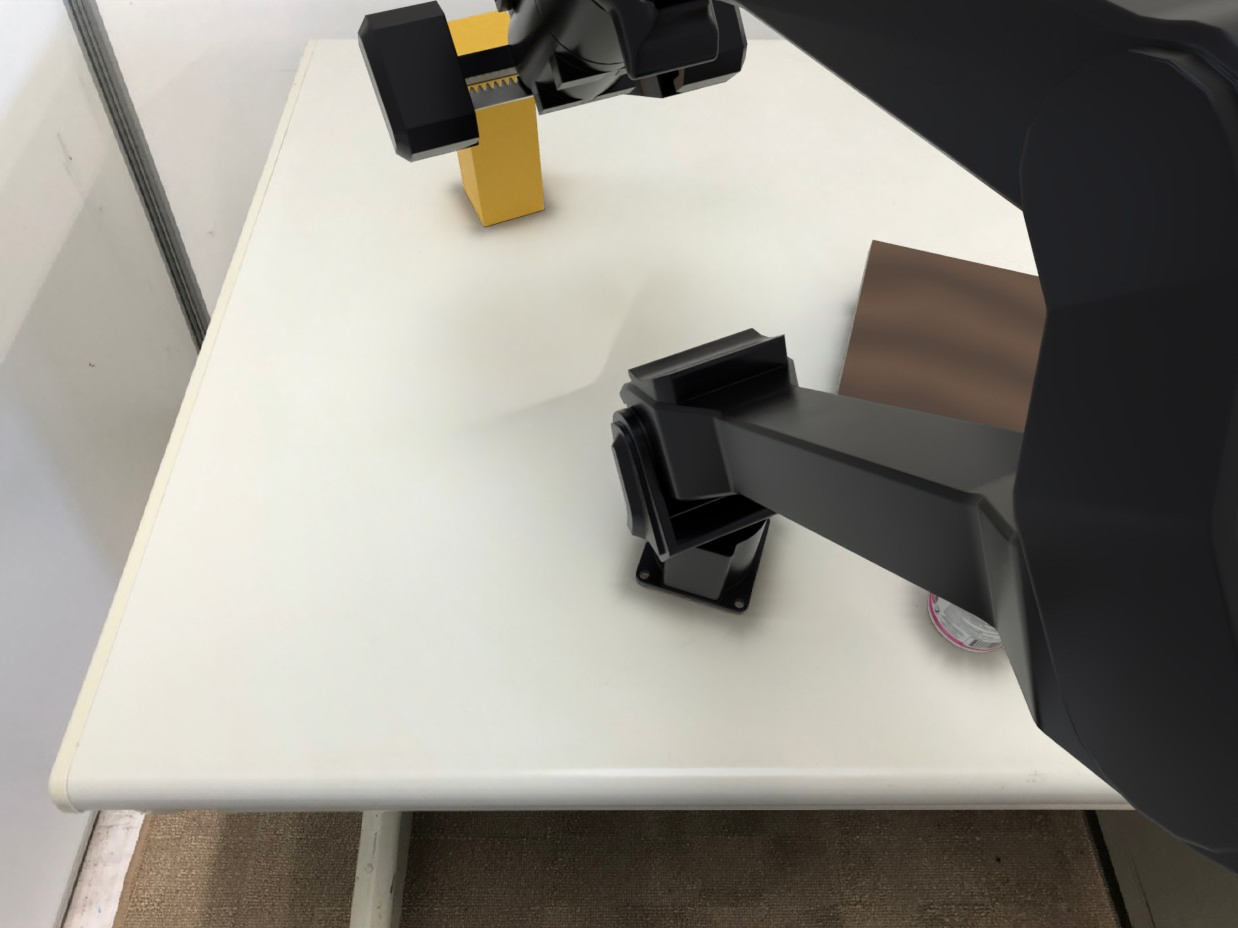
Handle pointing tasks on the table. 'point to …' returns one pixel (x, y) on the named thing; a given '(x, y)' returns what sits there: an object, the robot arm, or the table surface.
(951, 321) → the board
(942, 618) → the pill bottle
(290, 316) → the table surface
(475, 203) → the block
